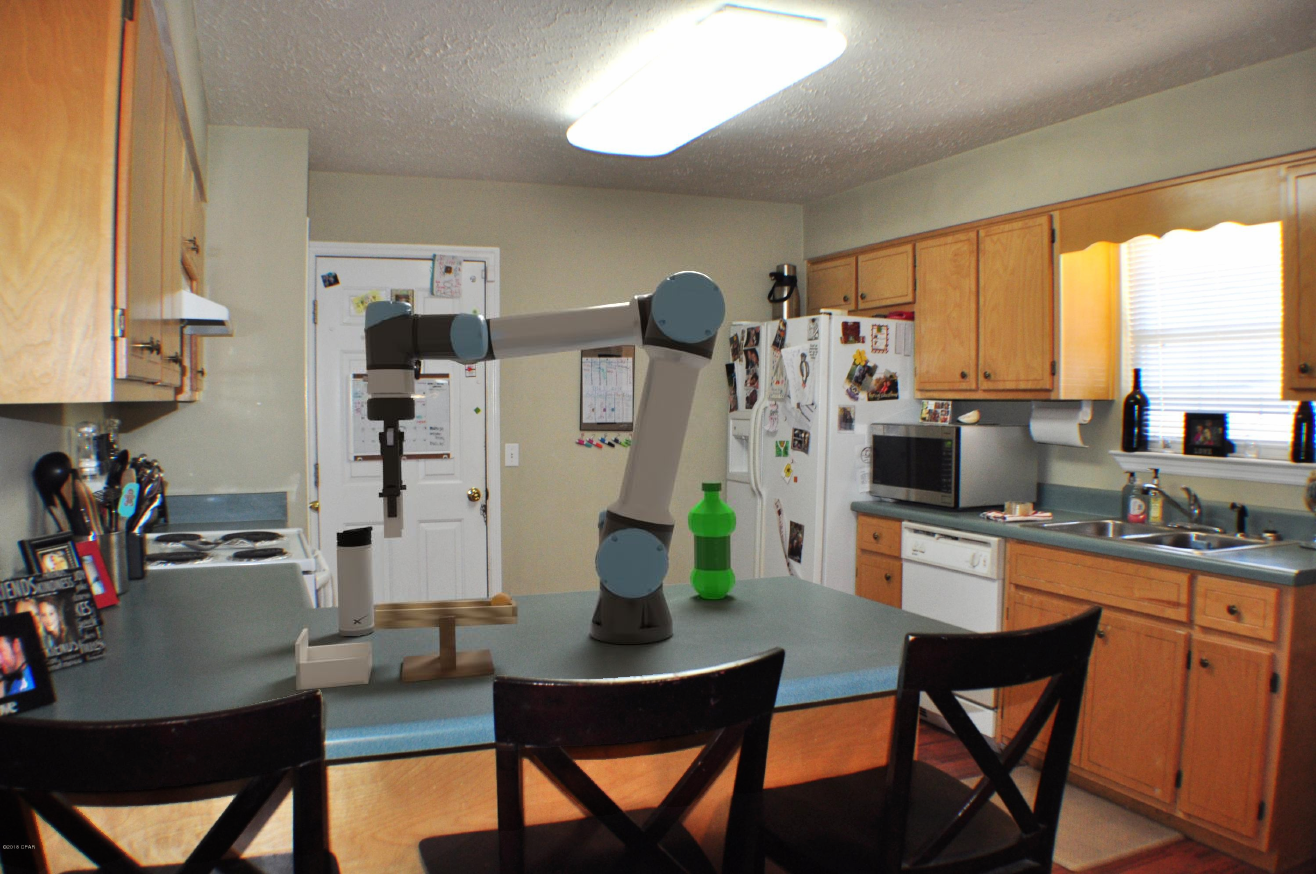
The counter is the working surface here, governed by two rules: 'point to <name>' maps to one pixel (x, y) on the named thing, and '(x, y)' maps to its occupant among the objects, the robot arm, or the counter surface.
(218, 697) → the counter surface
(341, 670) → the white open box
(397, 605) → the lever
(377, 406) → the robot arm
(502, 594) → the ball
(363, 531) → the travel mug
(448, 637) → the stand
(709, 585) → the plastic bottle
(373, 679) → the counter surface
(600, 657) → the counter surface
